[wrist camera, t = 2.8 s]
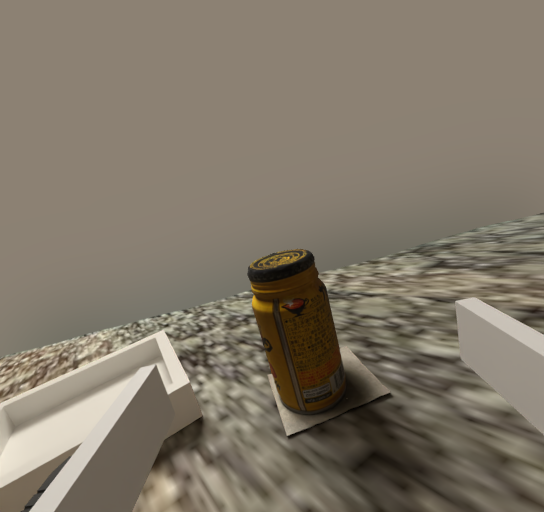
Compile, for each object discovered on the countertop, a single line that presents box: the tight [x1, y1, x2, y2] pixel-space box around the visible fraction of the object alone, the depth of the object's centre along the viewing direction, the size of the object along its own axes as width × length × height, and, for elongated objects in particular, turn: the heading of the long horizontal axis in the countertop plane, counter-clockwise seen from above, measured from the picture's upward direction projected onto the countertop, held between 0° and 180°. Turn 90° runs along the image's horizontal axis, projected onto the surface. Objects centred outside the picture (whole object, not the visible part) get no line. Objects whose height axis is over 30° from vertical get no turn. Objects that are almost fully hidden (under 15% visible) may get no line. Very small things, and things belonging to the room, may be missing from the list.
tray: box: [0, 330, 203, 512], centre depth 25 cm, size 17×14×4 cm
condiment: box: [248, 249, 390, 436], centre depth 22 cm, size 7×8×12 cm
